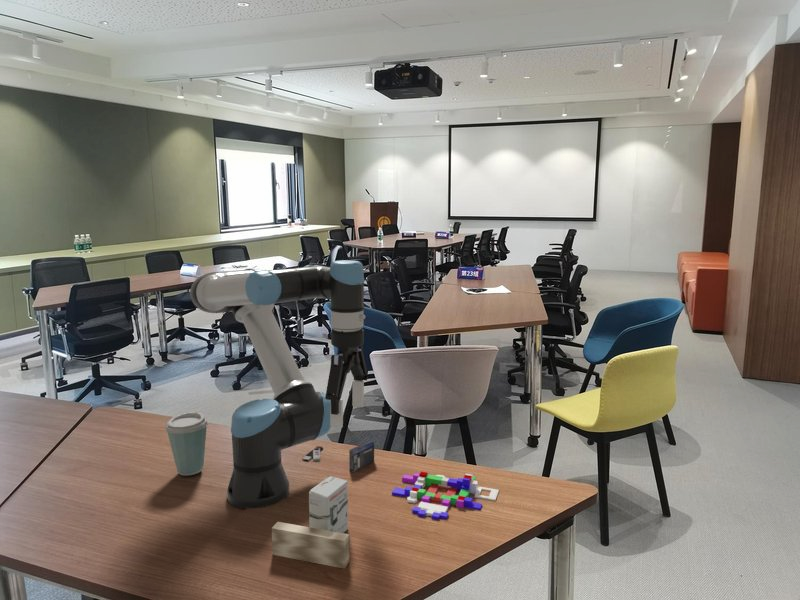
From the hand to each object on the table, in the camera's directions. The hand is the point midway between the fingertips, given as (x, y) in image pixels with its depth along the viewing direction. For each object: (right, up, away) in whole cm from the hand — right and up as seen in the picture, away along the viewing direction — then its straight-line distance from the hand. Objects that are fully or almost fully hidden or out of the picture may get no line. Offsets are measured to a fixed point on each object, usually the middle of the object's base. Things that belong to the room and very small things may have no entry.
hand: (347, 416), depth 134 cm
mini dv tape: (+2, -19, +23) cm, 30 cm away
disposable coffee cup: (-45, -19, +20) cm, 53 cm away
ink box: (-3, -24, -10) cm, 26 cm away
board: (-6, -26, -18) cm, 32 cm away
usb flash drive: (-12, -18, +30) cm, 37 cm away
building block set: (+23, -22, +7) cm, 33 cm away
